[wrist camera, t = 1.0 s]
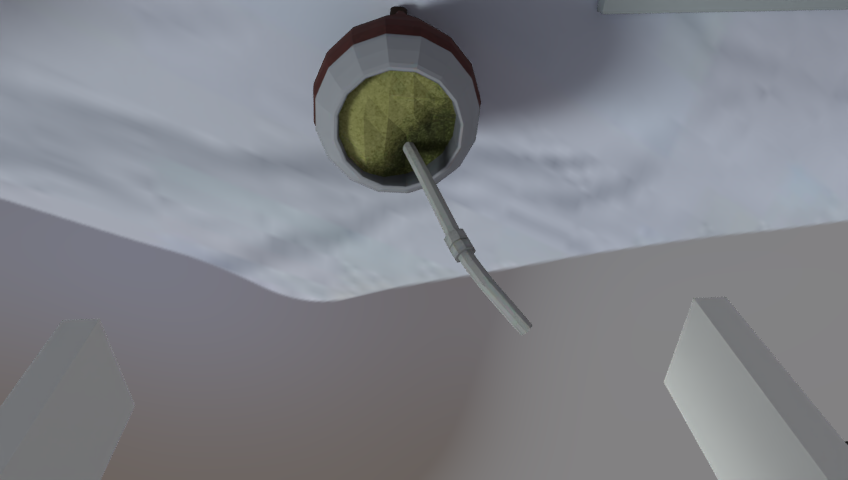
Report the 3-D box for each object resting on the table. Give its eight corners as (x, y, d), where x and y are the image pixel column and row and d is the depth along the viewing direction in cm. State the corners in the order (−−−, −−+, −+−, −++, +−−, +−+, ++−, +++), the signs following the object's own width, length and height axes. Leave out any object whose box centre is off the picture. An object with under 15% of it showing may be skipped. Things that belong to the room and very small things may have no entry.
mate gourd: (324, -10, 26) (267, 95, 13) (490, 5, 26) (588, 117, 14) (324, 141, 30) (282, 331, 17) (469, 149, 30) (530, 337, 18)
